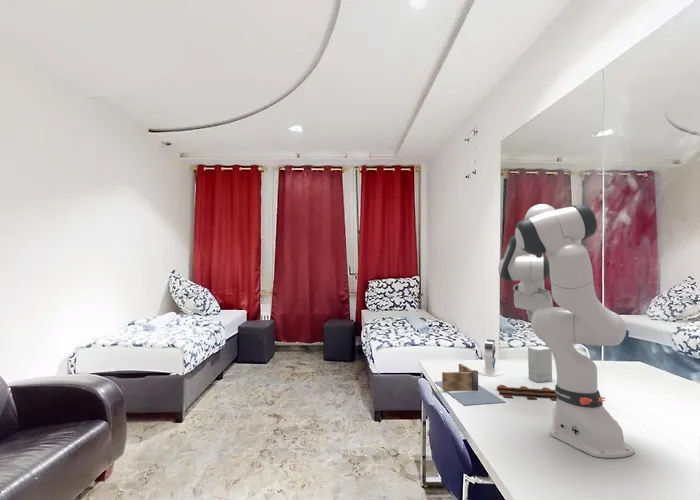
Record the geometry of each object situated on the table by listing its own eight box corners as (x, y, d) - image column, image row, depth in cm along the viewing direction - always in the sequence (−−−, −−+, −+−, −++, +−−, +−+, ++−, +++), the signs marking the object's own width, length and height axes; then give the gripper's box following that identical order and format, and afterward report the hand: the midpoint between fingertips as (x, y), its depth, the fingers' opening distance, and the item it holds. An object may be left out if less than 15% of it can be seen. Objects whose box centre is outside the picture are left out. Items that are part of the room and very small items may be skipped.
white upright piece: (501, 377, 179) (501, 345, 180) (475, 374, 184) (475, 342, 184) (503, 371, 190) (502, 340, 190) (479, 368, 195) (478, 338, 195)
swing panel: (443, 390, 160) (442, 373, 160) (442, 389, 161) (442, 372, 161) (472, 390, 160) (471, 372, 160) (471, 389, 161) (470, 372, 162)
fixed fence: (479, 391, 160) (479, 371, 160) (473, 391, 159) (473, 372, 160) (462, 380, 174) (462, 362, 174) (457, 380, 174) (457, 362, 174)
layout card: (505, 402, 148) (505, 401, 148) (464, 405, 145) (464, 404, 145) (470, 380, 175) (470, 379, 175) (434, 382, 172) (434, 381, 172)
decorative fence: (564, 403, 149) (552, 390, 164) (564, 399, 149) (552, 386, 164) (501, 399, 153) (494, 387, 168) (501, 395, 153) (494, 383, 168)
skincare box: (543, 377, 179) (543, 345, 179) (553, 381, 173) (552, 348, 174) (527, 379, 177) (527, 346, 178) (536, 383, 171) (536, 349, 172)
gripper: (557, 289, 149) (557, 325, 149) (524, 285, 169) (524, 317, 169) (542, 289, 148) (542, 326, 148) (510, 286, 168) (511, 318, 168)
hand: (532, 321), depth 159 cm, fingers closed
